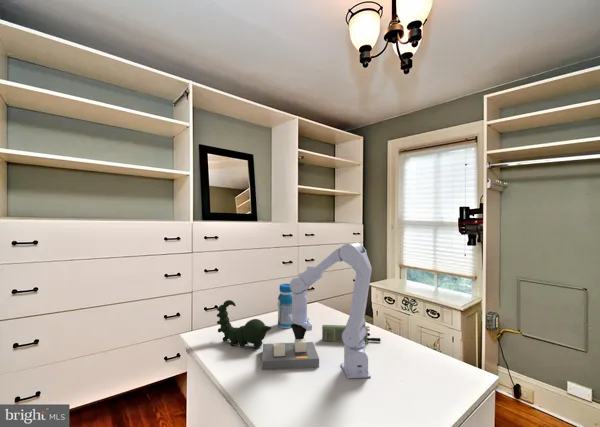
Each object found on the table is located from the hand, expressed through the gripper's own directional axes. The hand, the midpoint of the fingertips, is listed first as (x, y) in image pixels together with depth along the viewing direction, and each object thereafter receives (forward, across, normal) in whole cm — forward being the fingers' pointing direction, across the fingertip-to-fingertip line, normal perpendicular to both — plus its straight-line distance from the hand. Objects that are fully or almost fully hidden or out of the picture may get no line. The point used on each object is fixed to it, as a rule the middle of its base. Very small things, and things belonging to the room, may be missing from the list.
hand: (299, 343), depth 109 cm
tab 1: (+1, -2, +10) cm, 10 cm away
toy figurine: (+5, +19, +15) cm, 25 cm away
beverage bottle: (+5, +30, -10) cm, 32 cm away
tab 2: (+1, -3, +1) cm, 3 cm away
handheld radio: (+5, 0, -26) cm, 27 cm away
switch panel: (+4, -1, +5) cm, 7 cm away
